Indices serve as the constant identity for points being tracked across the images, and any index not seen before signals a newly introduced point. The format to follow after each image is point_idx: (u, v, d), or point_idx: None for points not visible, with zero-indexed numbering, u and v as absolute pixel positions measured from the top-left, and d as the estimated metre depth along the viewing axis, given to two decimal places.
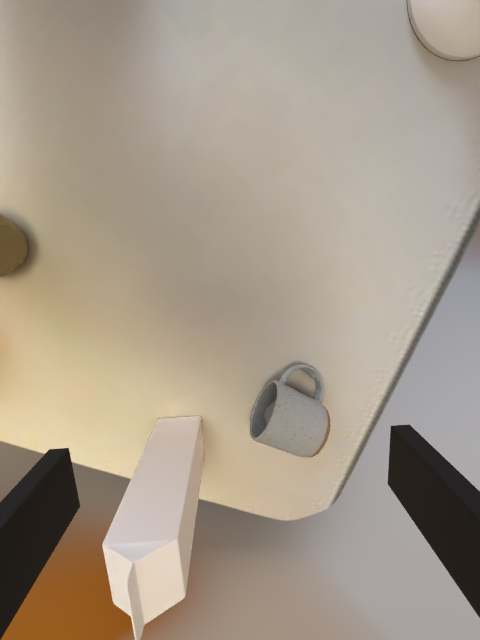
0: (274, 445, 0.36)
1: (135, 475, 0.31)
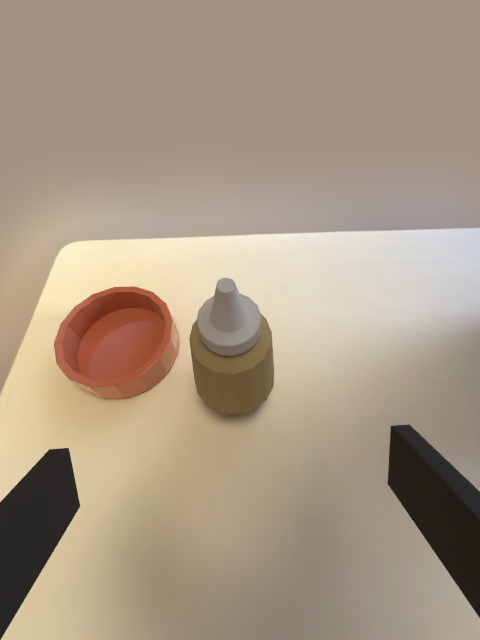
0: None
1: None
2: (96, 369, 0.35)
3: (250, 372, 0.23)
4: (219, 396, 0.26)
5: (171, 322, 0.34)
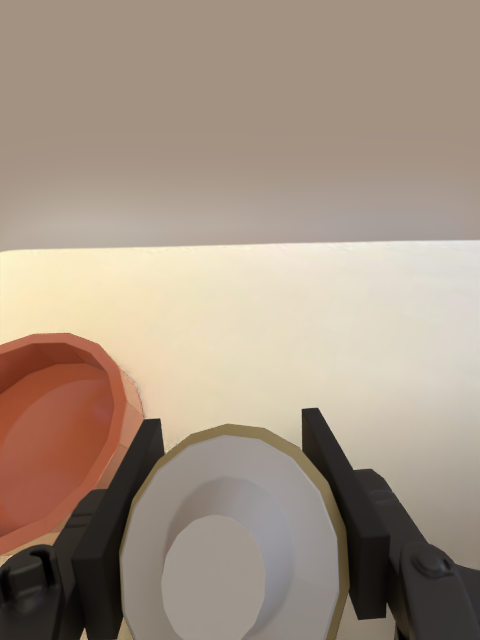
0: None
1: None
2: None
3: None
4: None
5: (125, 406, 0.19)
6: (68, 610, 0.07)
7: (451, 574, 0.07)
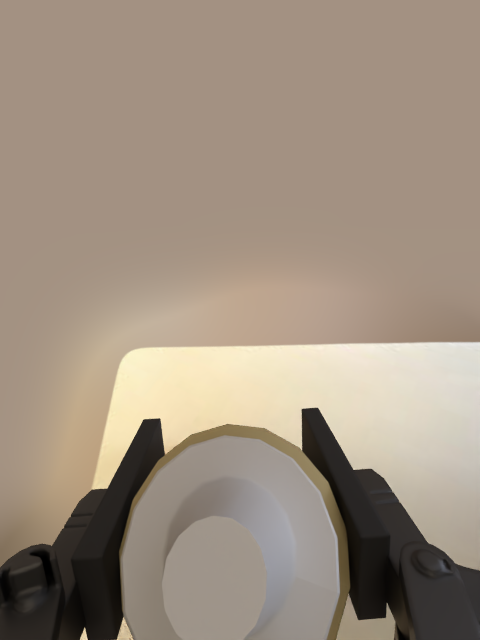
0: None
1: None
2: None
3: None
4: None
5: None
6: (68, 610, 0.07)
7: (451, 574, 0.07)
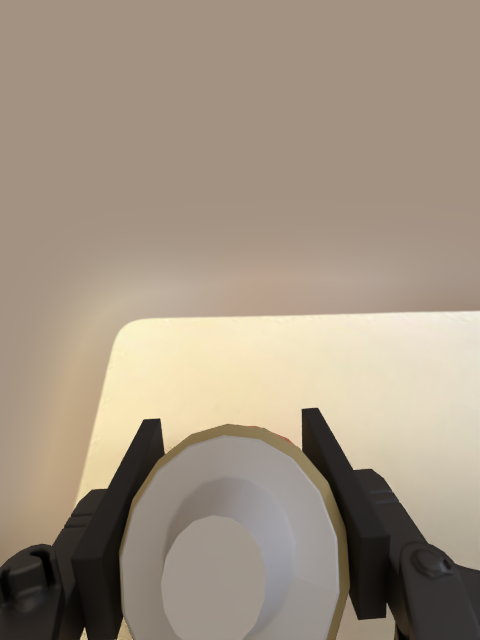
0: None
1: None
2: None
3: None
4: None
5: None
6: (68, 610, 0.07)
7: (451, 574, 0.07)
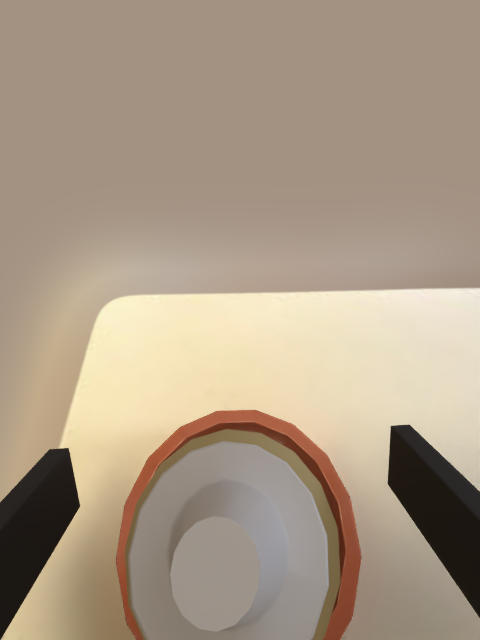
0: None
1: None
2: None
3: None
4: None
5: (350, 505, 0.17)
6: None
7: None
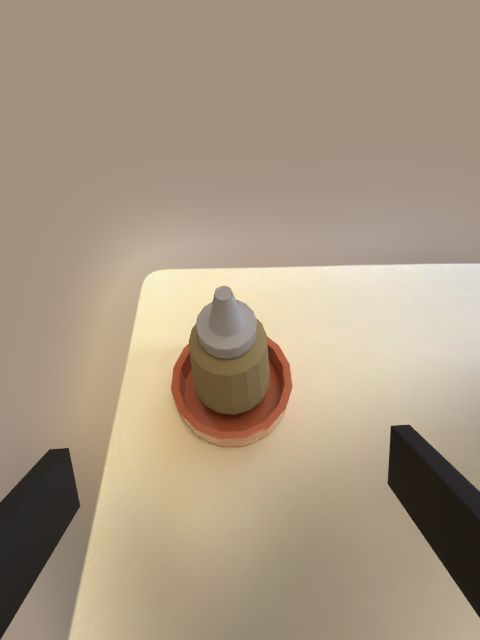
0: None
1: None
2: (208, 413, 0.34)
3: (246, 375, 0.24)
4: (216, 396, 0.27)
5: (289, 367, 0.33)
6: None
7: None
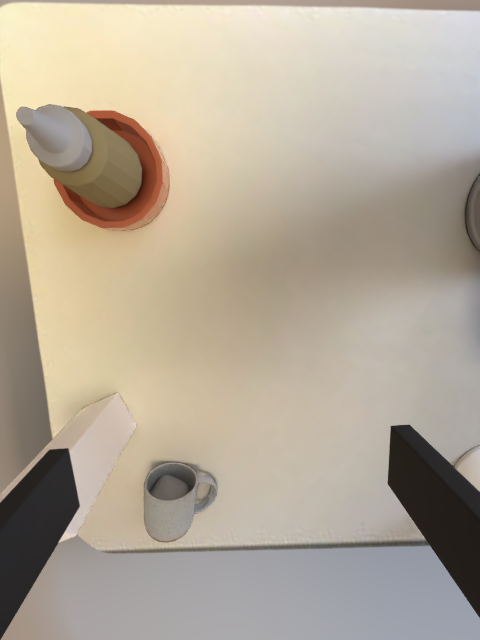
0: (149, 509, 0.42)
1: (83, 438, 0.34)
2: None
3: (94, 184, 0.28)
4: (84, 197, 0.32)
5: (161, 162, 0.35)
6: None
7: None
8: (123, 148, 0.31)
